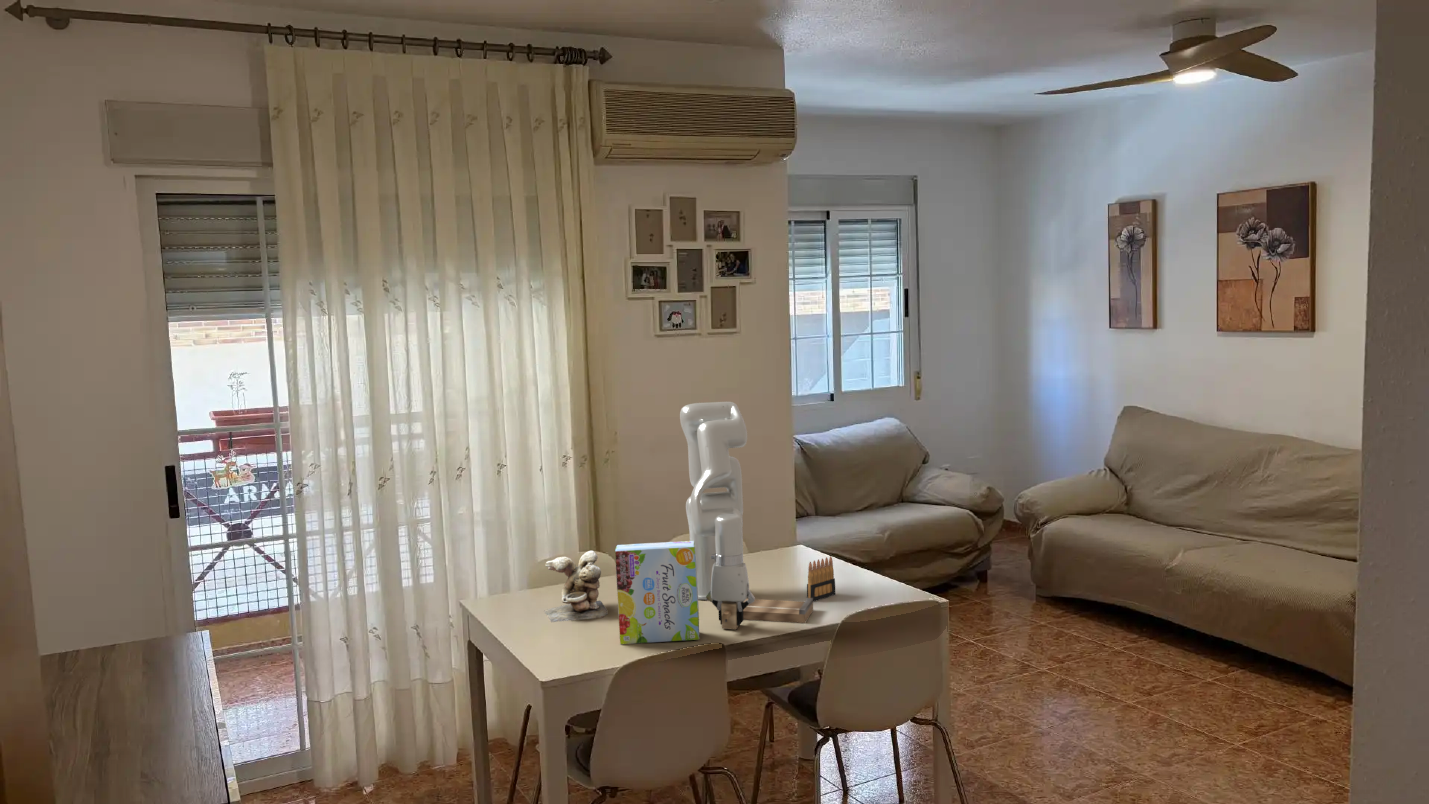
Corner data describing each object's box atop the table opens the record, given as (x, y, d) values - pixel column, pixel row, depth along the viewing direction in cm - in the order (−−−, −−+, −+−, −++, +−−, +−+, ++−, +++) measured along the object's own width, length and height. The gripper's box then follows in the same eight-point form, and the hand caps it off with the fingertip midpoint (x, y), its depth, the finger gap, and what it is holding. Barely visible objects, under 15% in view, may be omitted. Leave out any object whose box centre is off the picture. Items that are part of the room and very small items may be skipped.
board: (729, 618, 304) (728, 606, 304) (739, 606, 315) (739, 594, 315) (805, 622, 298) (804, 610, 298) (813, 610, 309) (812, 598, 309)
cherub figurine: (550, 624, 304) (547, 562, 303) (541, 606, 322) (538, 548, 320) (611, 616, 310) (608, 556, 308) (599, 600, 327) (597, 542, 325)
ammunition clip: (811, 602, 318) (810, 562, 316) (806, 600, 319) (805, 561, 318) (835, 594, 324) (835, 556, 323) (831, 593, 326) (830, 555, 325)
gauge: (718, 632, 291) (718, 607, 290) (729, 619, 302) (728, 595, 301) (733, 633, 290) (732, 608, 289) (743, 620, 301) (742, 596, 300)
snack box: (699, 631, 294) (696, 539, 291) (700, 641, 285) (696, 547, 282) (620, 634, 293) (616, 542, 290) (618, 645, 284) (614, 550, 281)
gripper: (696, 561, 293) (698, 626, 295) (755, 564, 288) (757, 630, 290) (704, 554, 300) (706, 617, 302) (762, 557, 295) (763, 621, 297)
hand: (731, 623), depth 296 cm, fingers closed on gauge, 4 cm apart
